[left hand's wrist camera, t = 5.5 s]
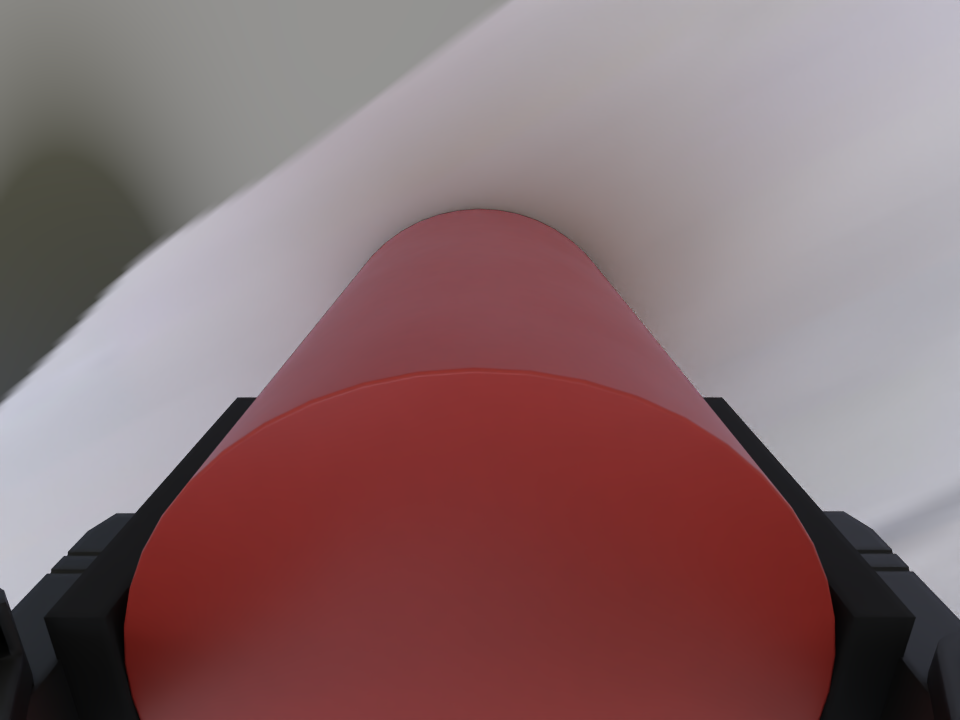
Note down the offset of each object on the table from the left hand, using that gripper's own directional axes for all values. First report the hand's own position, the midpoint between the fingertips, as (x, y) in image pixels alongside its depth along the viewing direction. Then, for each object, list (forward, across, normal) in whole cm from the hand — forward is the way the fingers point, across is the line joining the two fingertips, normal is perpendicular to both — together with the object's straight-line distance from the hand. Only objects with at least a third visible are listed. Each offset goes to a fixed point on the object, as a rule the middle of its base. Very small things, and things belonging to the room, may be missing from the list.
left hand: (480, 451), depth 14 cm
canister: (+7, 0, 0) cm, 7 cm away
